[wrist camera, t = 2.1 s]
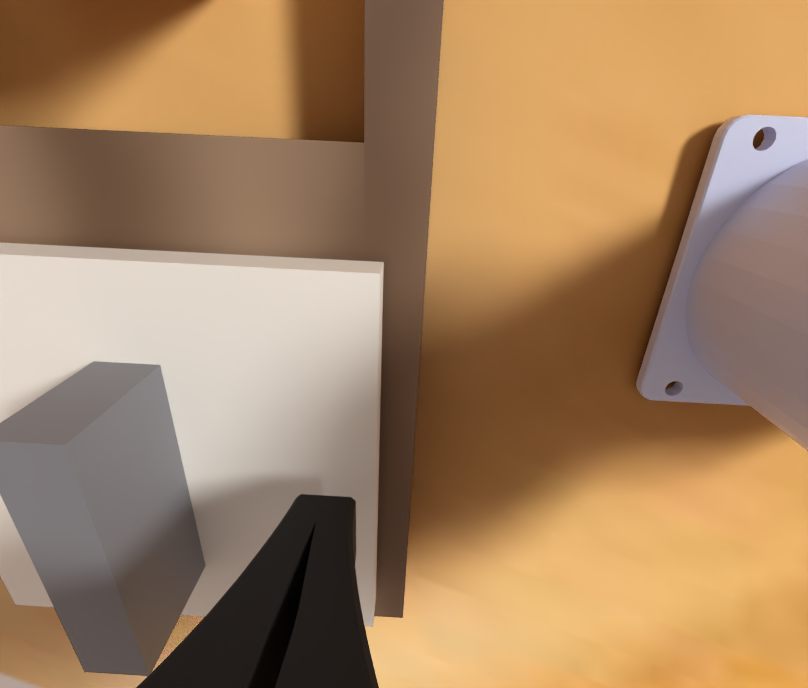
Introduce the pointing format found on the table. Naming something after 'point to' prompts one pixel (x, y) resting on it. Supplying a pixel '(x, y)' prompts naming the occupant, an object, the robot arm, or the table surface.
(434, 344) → the table surface
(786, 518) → the table surface
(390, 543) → the brown flat frame
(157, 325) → the slide cover
